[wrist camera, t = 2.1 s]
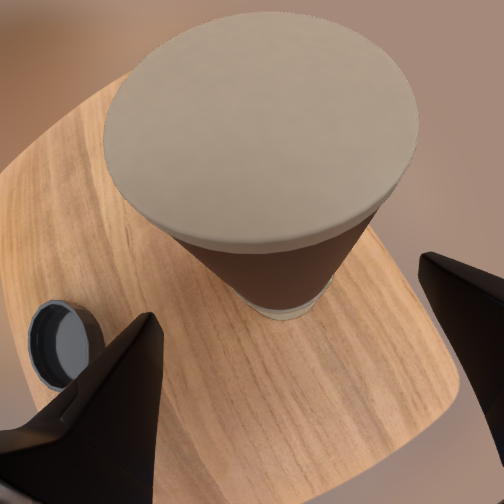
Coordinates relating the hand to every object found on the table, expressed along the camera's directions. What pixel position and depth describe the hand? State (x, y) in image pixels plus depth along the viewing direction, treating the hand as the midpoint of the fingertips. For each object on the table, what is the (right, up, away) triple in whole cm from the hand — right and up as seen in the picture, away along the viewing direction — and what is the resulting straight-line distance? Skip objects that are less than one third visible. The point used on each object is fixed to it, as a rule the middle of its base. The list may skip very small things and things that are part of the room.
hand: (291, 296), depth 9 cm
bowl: (-18, -7, +14) cm, 24 cm away
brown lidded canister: (0, +1, +6) cm, 6 cm away
